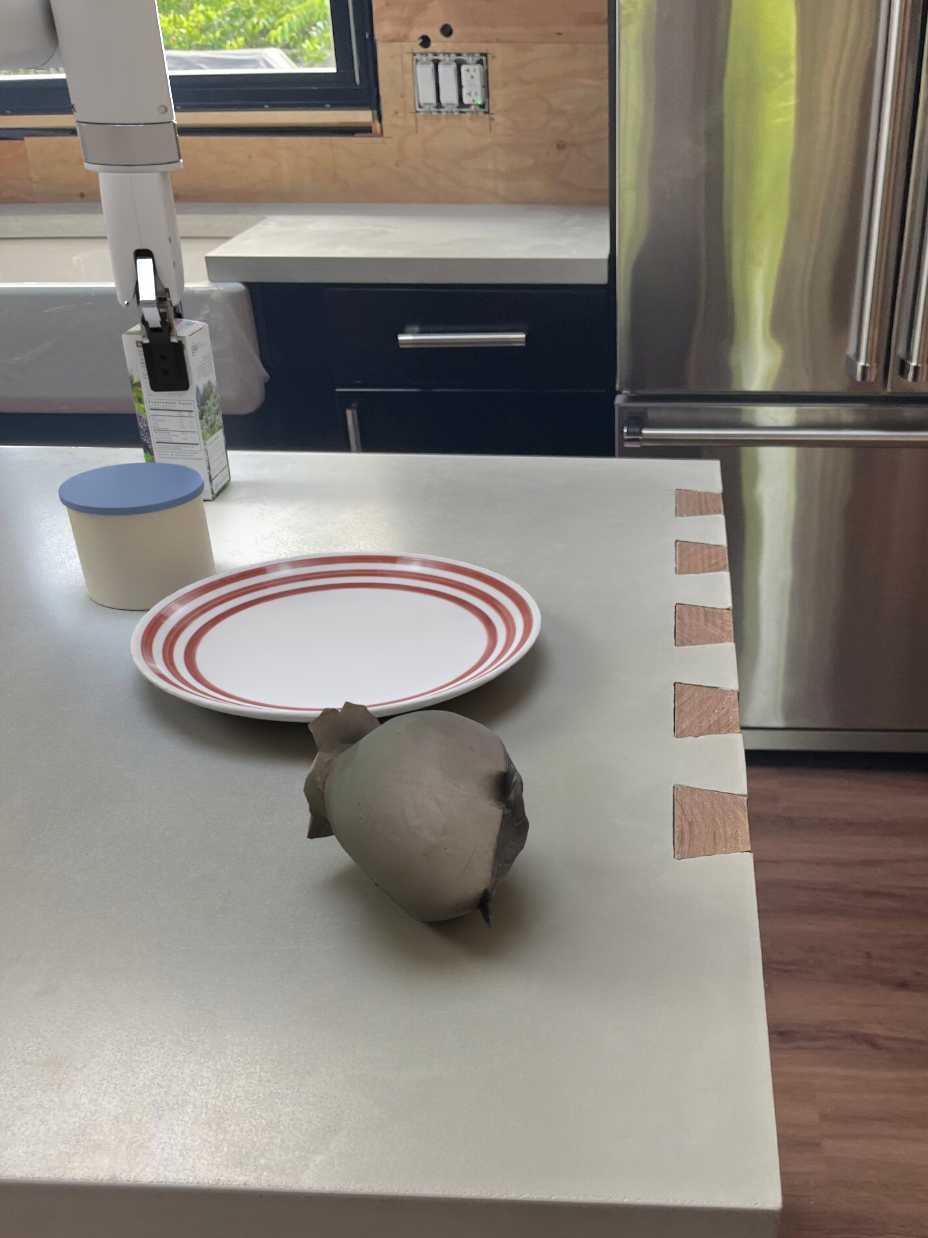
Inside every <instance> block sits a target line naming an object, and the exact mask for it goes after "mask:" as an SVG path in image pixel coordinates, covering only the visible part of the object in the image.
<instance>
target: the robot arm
mask: <svg viewBox="0 0 928 1238" xmlns="http://www.w3.org/2000/svg"><path fill="white" fill-rule="evenodd" d="M157 5H158V4H157V0H0V71H9V70H42V69H55V68H63V69H64V73H65V79H66V83H67V89H68V94H69V98H70V103H71V109H72V113H73V118H74V124H75V128H76V133H77V139H78V144H79V147H80V152H81V158H82V162H83V168H84V169H85V170H86V171H90V172H96V173H98V174H97V175H98V184H99V193H100V202H101V208H102V215H103V221H104V227H105V233H106V238H107V244H108V250H109V256H110V262H111V268H112V273H113V280H114V287H115V292H116V293H115V294H116V299H117V302H118V304H120V306H122V307H123V308H129V307H130V305H131V303H132V302H133V301H134V299H136V307H137V315H138V320H139V323H140V328H141V335H142V340H143V341H142V342H141V344H142V349H143V354H144V359H145V364H146V369H147V374H148V379H149V385H150V389H151V390H152V391H153V392H171V391H187V390H188V389H189V387H190V384H189V378H188V373H187V367H186V361H185V356H184V350H183V345H182V340H178V336H177V329H176V322H175V318H176V319H185V315H184V309H183V305H182V297H183V294H184V290H185V273H184V272H185V271H184V263H183V261H184V260H183V252H182V243H181V236H180V230H179V223H178V218H177V211H176V205H175V199H174V193H173V188H172V182H171V176H170V172H173V171H178V170H182V169H183V168H184V165H183V164H184V163H183V158H182V150H181V145H180V140H179V139H180V138H179V134H178V127H177V121H175V120H176V115H175V111H174V110H175V109H174V103H173V97H172V91H171V85H170V79H169V72H168V66H167V60H166V55H165V54H166V53H165V47H164V43H163V36H162V31H161V25H160V18H159V12H158V11H159V10H158V6H157Z"/></svg>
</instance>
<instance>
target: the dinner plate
mask: <svg viewBox="0 0 928 1238" xmlns="http://www.w3.org/2000/svg"><path fill="white" fill-rule="evenodd" d="M541 627H542V614H541V611H540V607H539V605H538V603H537V602H536V600H535V599H534V598H533V597H532V595H530V593H529V592H528V591H526V589H524V588H523V587H522V586H521V585H519V584H517V582H515V581H513V580H511V579H509V578H508V577H506V576H505V575H503V574H502V575H501V574H499V573H497V572H495V571H492V570H491V569H488V568H485V567H482V566H479V565H476V564H473V563H469V562H465V561H461V560H459V559H453V558H449V557H445V556H438V555H433V554H423V553H414V552H403V551H402V552H401V551H384V550H383V551H381V550H380V551H379V550H375V551H374V550H360V551H359V550H358V551H355V550H353V551H351V550H350V551H349V550H348V551H332V552H319V553H311V554H310V553H309V554H301V555H300V554H299V555H295V556H289V557H283V558H276V559H275V558H274V559H271V560H265V561H261V562H257V563H252V564H248V565H244V566H240V567H236V568H232V569H230V570H225V571H223V572H219V573H216V575H213V576H210V577H208V578H205V579H202V580H200V581H197V582H195V583H193V584H190V585H188V586H186V587H184V588H182V589H180V590H178V591H176V592H175V593H173V594H171V595H170V596H168V597H166V598H165V599H163V600H162V601H160V602H159V603H158V604H156V605H155V606H154V607H153V608H151V609H148V611H147V612H145V614H144V615H143V616H142V617H141V619H140V620H139V621H138V623H137V624H136V626H135V628H134V629H133V631H132V634H131V637H130V642H129V651H130V656H131V659H132V662H133V664H134V666H135V667H136V669H137V670H138V671H139V672H140V673H141V675H142V676H143V677H144V678H145V679H146V680H148V681H149V682H150V683H151V684H152V685H154V686H156V687H157V688H158V689H159V690H162V691H163V692H166V693H168V694H169V695H171V696H173V697H175V698H178V699H180V700H182V701H185V702H188V703H191V704H193V705H195V706H198V707H202V708H205V709H209V710H213V711H216V712H219V713H224V714H229V715H233V716H240V717H247V718H251V719H256V720H257V719H258V720H267V721H276V722H290V723H291V722H293V723H310V722H312V721H313V720H314V719H316V718H317V717H319V715H320V714H321V712H322V711H323V710H324V708H335V709H337V710H338V711H341V709H342V707H343V705H344V703H345V701H347V702H351V703H353V704H360V705H365V706H366V707H367V709H368V711H369V712H370V713H371V714H372V715H373V716H376V718H377V719H378V718H384V717H388V716H394V715H399V714H403V713H408V712H411V711H412V712H413V711H416V710H420V709H424V708H427V707H430V706H433V705H437V704H439V703H443V702H446V701H448V700H451V699H454V698H457V697H459V696H461V695H464V694H466V693H469V692H471V691H473V690H474V689H477V688H479V687H481V686H483V685H485V684H487V683H488V682H490V681H492V680H494V679H496V678H497V677H499V676H500V675H501V674H503V673H505V672H507V671H508V670H509V669H510V668H512V667H513V666H514V665H515V664H516V663H517V662H519V661H520V660H521V659H522V658H523V657H525V655H526V654H527V653H528V652H529V651H531V649H532V648H533V646H534V645H535V643H536V641H537V640H538V638H539V636H540V632H541Z"/></svg>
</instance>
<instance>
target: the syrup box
mask: <svg viewBox="0 0 928 1238" xmlns="http://www.w3.org/2000/svg"><path fill="white" fill-rule="evenodd" d="M175 322H176V329H177V336H178V340H182V345H183V350H184V356H185V361H186V367H187V373H188V378H189V384H190V387H189V389H188V390H187V391H171V392H153V391H152V390H151V389H150V385H149V379H148V374H147V369H146V364H145V359H144V354H143V349H142V344H141V342H142V341H143V340H142V335H141V328H140V322H139V323H137V324H136V325H134V326H133V327H131V328H129V329H128V330H127V331H125V332H123V333H122V334H121V340H122V346H123V350H124V355H125V361H126V367H127V371H128V377H129V382H130V388H131V394H132V398H133V403H134V409H135V414H136V415H135V416H136V420H137V425H138V430H139V431H138V432H139V436H140V440H141V446H142V451H143V457H144V463H168V464H175V465H181V466H185V467H188V468H191V469H194V470H196V471H197V472H199V473H200V474H201V475H202V477H203V480H204V486H205V487H204V490H203V492H202V497H203V501H204V500H205V501H213V500H214V499H215V498H216V497H217V496H218V495H219V494H220V492H222V490H223V489H224V488H225V487H226V486H227V485H228V484H229V483H230V482H231V480H232V476H231V475H232V474H231V468H230V462H229V455H228V449H227V442H226V435H225V429H224V422H223V415H222V409H221V401H220V395H219V389H218V382H217V381H218V380H217V375H216V369H215V362H214V355H213V348H212V343H211V335H210V328H209V324H208V323H206V322H204V321H199V320H193V319H185V318H184V319H176V318H175Z"/></svg>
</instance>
